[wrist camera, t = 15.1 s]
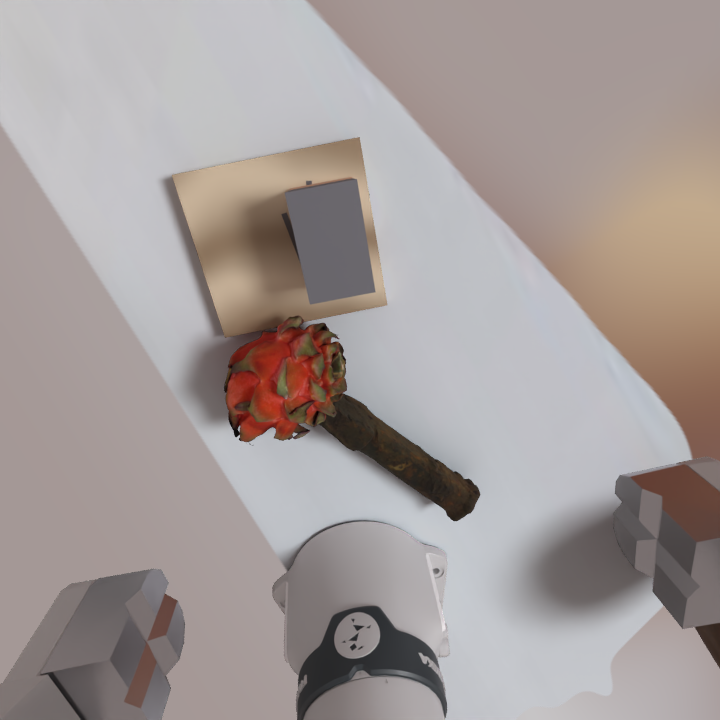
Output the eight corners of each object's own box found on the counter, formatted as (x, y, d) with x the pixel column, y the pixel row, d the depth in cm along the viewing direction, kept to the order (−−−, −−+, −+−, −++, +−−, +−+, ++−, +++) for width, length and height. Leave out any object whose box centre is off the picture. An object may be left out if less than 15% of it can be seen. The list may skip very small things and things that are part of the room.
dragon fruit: (349, 311, 38) (258, 392, 42) (276, 271, 31) (177, 373, 35) (392, 392, 33) (285, 473, 37) (317, 366, 26) (198, 469, 31)
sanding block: (368, 277, 34) (375, 293, 29) (312, 288, 34) (310, 306, 29) (351, 176, 31) (356, 177, 26) (289, 188, 31) (284, 191, 26)
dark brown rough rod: (473, 475, 44) (489, 507, 40) (444, 500, 45) (456, 534, 41) (331, 358, 38) (332, 380, 34) (300, 389, 39) (298, 415, 35)
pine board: (384, 299, 36) (387, 305, 35) (228, 331, 36) (225, 337, 35) (357, 138, 32) (359, 137, 30) (178, 174, 32) (171, 175, 30)
